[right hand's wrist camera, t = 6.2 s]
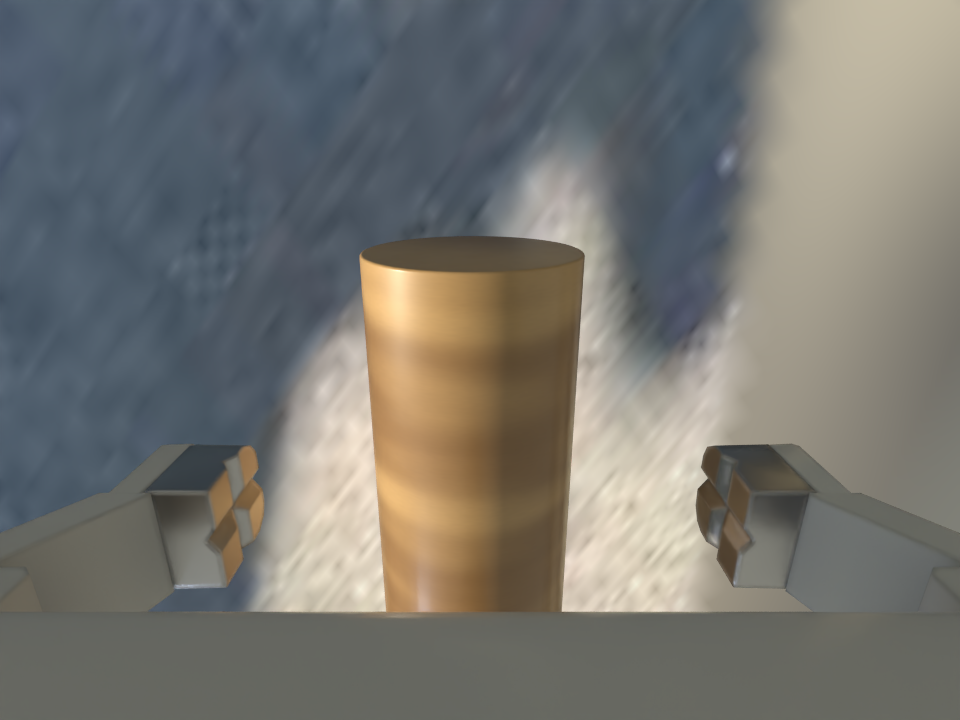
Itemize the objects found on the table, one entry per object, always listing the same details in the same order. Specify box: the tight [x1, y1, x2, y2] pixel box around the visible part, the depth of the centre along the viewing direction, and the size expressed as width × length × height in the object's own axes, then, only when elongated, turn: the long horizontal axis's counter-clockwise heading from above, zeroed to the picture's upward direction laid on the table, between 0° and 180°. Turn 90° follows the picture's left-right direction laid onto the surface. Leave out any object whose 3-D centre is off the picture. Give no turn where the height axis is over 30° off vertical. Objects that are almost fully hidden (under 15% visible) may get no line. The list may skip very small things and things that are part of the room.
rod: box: [360, 236, 585, 612], centre depth 19 cm, size 25×6×6 cm, turn 0°
